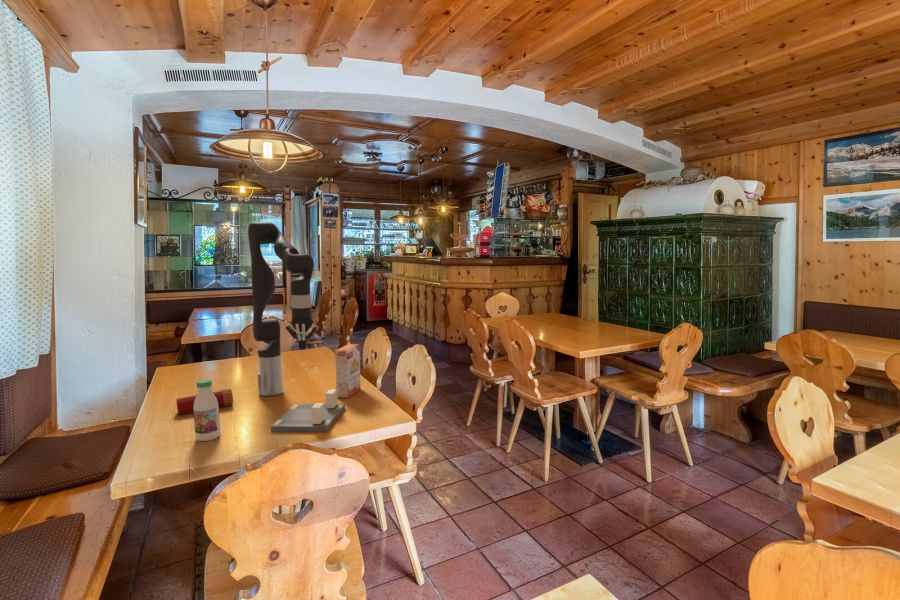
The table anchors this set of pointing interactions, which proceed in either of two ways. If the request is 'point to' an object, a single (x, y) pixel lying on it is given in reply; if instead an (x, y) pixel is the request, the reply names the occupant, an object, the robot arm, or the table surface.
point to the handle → (331, 398)
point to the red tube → (187, 403)
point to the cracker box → (347, 370)
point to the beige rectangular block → (317, 413)
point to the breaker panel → (306, 419)
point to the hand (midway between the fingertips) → (303, 349)
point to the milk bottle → (206, 412)
